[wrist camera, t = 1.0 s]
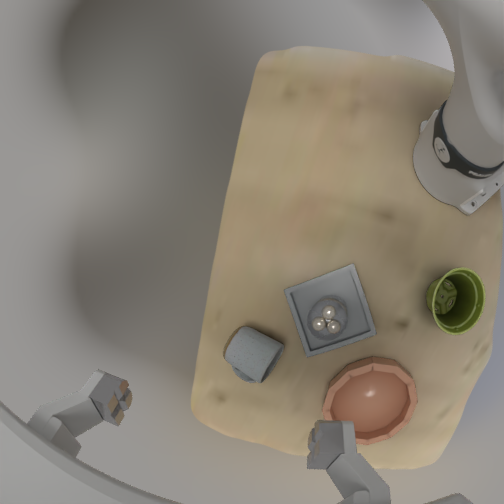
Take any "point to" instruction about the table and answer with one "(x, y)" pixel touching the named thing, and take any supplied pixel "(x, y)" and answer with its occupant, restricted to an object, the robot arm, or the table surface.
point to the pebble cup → (328, 318)
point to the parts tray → (340, 285)
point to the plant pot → (457, 300)
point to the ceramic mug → (252, 354)
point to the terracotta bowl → (372, 398)
